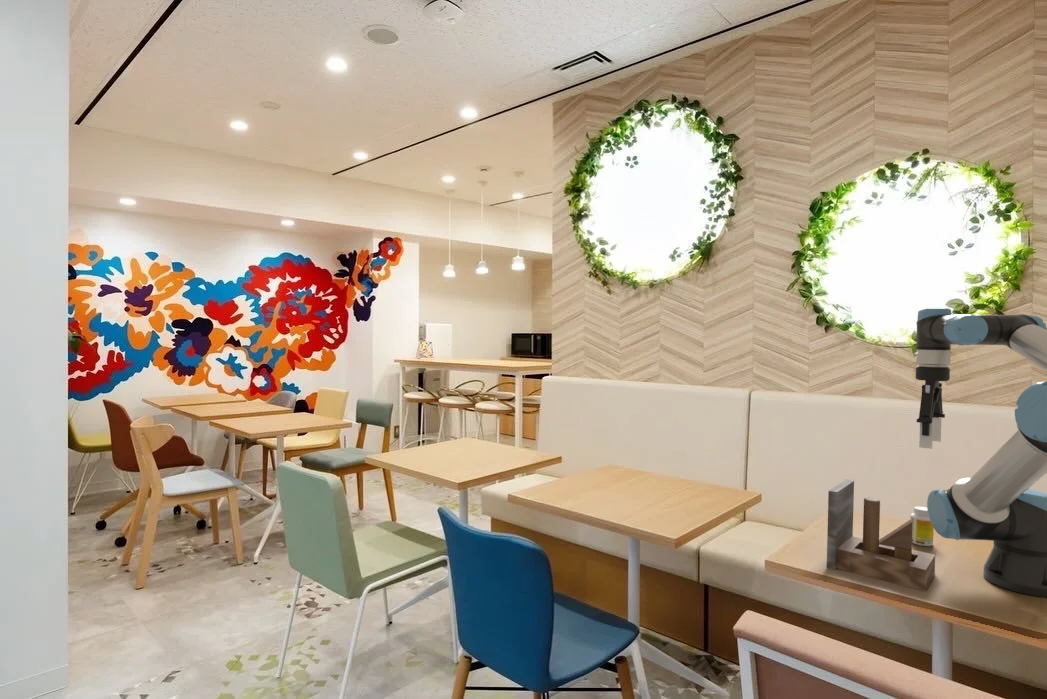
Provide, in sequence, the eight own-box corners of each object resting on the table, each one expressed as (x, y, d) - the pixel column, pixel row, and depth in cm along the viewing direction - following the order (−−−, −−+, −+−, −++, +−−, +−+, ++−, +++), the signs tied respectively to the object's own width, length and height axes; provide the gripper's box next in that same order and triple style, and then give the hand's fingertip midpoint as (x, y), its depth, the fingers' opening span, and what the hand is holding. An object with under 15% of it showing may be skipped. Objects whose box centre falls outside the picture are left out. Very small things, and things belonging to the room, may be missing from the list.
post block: (935, 572, 148) (938, 494, 147) (924, 592, 136) (926, 508, 135) (844, 550, 162) (846, 479, 162) (826, 567, 151) (828, 490, 150)
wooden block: (910, 579, 144) (913, 507, 143) (860, 569, 150) (862, 499, 149) (911, 574, 147) (913, 503, 146) (861, 564, 153) (863, 496, 152)
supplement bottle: (938, 546, 166) (939, 510, 166) (921, 547, 165) (923, 511, 165) (920, 539, 172) (921, 505, 171) (905, 540, 170) (906, 506, 170)
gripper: (924, 363, 168) (922, 436, 169) (906, 366, 150) (904, 448, 151) (956, 364, 163) (954, 440, 164) (942, 368, 145) (939, 453, 146)
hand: (930, 444), depth 157 cm, fingers open, 13 cm apart
